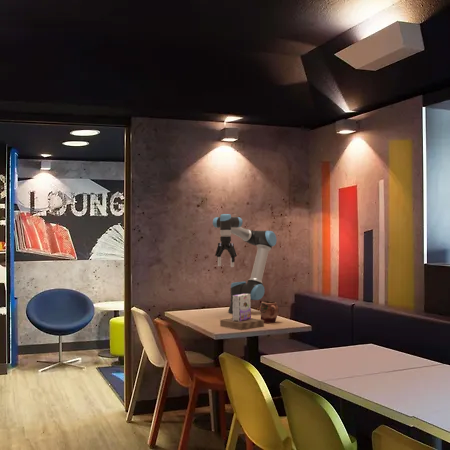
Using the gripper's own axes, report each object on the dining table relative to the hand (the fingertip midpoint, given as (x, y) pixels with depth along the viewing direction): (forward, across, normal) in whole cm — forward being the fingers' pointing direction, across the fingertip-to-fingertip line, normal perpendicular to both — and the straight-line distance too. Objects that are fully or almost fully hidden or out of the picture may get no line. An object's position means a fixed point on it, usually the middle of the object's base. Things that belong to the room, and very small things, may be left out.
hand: (225, 266), depth 421 cm
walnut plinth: (+36, +30, -12) cm, 49 cm away
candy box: (+33, +29, -12) cm, 46 cm away
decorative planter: (+37, +31, +12) cm, 50 cm away
